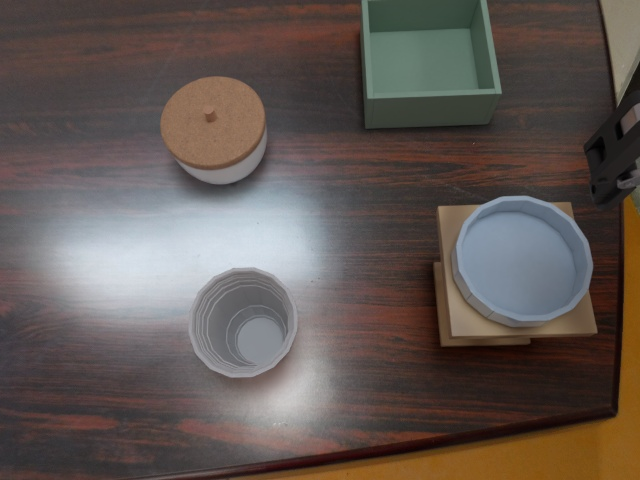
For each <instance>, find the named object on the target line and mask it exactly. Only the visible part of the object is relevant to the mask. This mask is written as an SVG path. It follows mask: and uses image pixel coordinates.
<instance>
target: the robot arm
mask: <svg viewBox="0 0 640 480" xmlns="http://www.w3.org/2000/svg"><path fill="white" fill-rule="evenodd" d="M582 147H583V148H582V149H583V153H584V155H585V158H586V162H587V166H588V170H589V179H590V181H589V182H588V187H589V191H590V197H591V201H592V205H595V206H596V209H597V210H598V211H599V212H611V211H613V210H614V209H615V208H617V206H619V204H620V203H622V202H623V201H624V200H625V199H626V198H627V197H629V196H630V194H632V193H633V192H634V191H635V190H636V189H638V188H637V186H640V167H638V165H637V160H638V159H639V158H640V89H636V90H634V91H632V92H631V93H630V94H628V95H627V96H626V97H625V99H623V101H622V102H620V104H619V106H618V107H616V109H615V110H614V111H613V112H612V113H611V114H610V115H609V116H608V118H607V119H606V120H605V121H604V122H603V123H602V125H600V126H599V128H598V129H596V131H595V132H594V133H593V134H592V136H590V138H589V139H588V140H587V141H586V142H585V143H584V145H583V146H582Z"/></svg>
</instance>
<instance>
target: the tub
mask: <svg viewBox="0 0 640 480" xmlns="http://www.w3.org/2000/svg"><path fill="white" fill-rule="evenodd" d="M488 8H489V6H488V2H487V0H360V21H359V22H360V23H359V38H360V39H359V40H360V57H361V76H362V77H361V78H362V94H363V112H364V113H363V114H364V115H363V116H364V128H365V130H368V129H369V130H371V129H373V130H374V129H393V128H394V129H397V128H400V129H401V128H425V127H448V126H449V127H452V126H453V127H454V126H455V127H456V126H479V125H480V126H481V125H489V123H490V122H491V120H492V117H493V114H494V112H495V110H496V107H497V105H498V103H499V101H500V99H501V97H502V94H503V91H502V85H501V80H500V73H499V66H498V62H497V54H496V50H495V49H496V48H495V43H494V38H493V33H492V25H491V21H490V20H491V19H490V13H489V9H488Z"/></svg>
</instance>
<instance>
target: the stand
mask: <svg viewBox="0 0 640 480" xmlns="http://www.w3.org/2000/svg"><path fill="white" fill-rule="evenodd" d="M550 203H551V205H552V204H553V205H555V206H556V207H557V208H559V209H560V210H561V211H563V212H564V213H565V214H567V215H568V216H569V217H571V218H572V219H573V220H574V221H575V216H574V211H573V207H572V202H571V201H558V202H550ZM480 205H481V204H465V205H464V204H461V205H459V204H458V205H437V208H436V211H435V218H436V228H437V237H438V239H437V240H438V246H439V247H438V248H439V257H440V261H434V262H433V264H432V271H433V272H432V273H433V282H434V292H435V302H436V312H437V314H436V315H437V323H438V332H439V333H438V335H439V343H440V347H441V348H444V347H446V348H447V347H484V346H485V347H486V346H487V347H488V346H528V345H530V344H531V343H532V342H531V339H532V338H571V337H572V338H574V337H575V338H576V337H592V336H594V335H596V334H598V327H597V324H596V318H595V314H594V308H593V304H592V299H591V294H590V289H588V291H587V293H586V294H585V295H584V296H583V297H582V299H581V300H580V301H579V302H578V304H577V305H576V306H575V307H574V308H573V309H572V310H571V311H569V312H567V313H566V314H564V315H562V316H561V317H559V318H556V319H554V320H552V321H550V322H548V323H546V324H543V325H541V326H538V327H510V326H507V325H505V324H502V323H499V322H496V321H493V320H491V319H488V318H487V317H485V316H483V315H482V314H481V313H480V312H479V311H478V310H476V309H475V308H474V307H473V306H472V305H470V304H469V303H468V302H467V301H466V300H465V298H464V296H463V294H462V293H461V291H460V289H459V287H458V285H457V284H456V282H455V280H454V277H453V270H452V261H451V252H452V249H453V246H454V243H455V240H456V237H457V234H458V232H459V230H460V228H461V226H462V224H463V223H464V221H465V220H466V219H467V218H468V217H469V216H470V215H471V214H472V213H473V212H474V211H475V210H476V209H477V208H478V207H479V206H480Z"/></svg>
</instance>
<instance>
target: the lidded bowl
mask: <svg viewBox="0 0 640 480" xmlns="http://www.w3.org/2000/svg"><path fill="white" fill-rule="evenodd" d="M266 117H267V115H266V110H265V107H264V104H263V101H262V99H261V97H260V96H259V95H258V93H257V92H256V91H255V90H254V88H252V87H251V86H249V85H248V84H247V83H245V82H243V81H241V80H239V79H236V78H233V77H229V76H228V77H227V76H219V75H218V76H217V75H216V76H215V75H214V76H206V77H201V78H198V79H196V80H193V81H191V82H188V83H187V84H185V85H184V86H182V87H181V88H179V89H178V90H177V91H176V92H175V93H173V94H172V96H171V97H170V99H168V101H167V102H166V103H165V106H164V107H163V110H162V112H161V115H160V121H159V130H160V131H159V132H160V135H161V139H162V142H163V144H164V146H165V147H166V149H167V151H168V152H169V153H170V154H171V156H173V158H174V159H175V161H176V162H177V164H178V165H180V167H181V168H182V169H183V170H184V171H185V172H186V173H188V174H189V175H191V176H192V177H193V178H195V179H197V180H199V181H201V182H204V183H207V184H212V185H229V184H233V183H237V182H239V181H240V180H243V179H244V178H246V177H248V176H249V175H250V174H252V173H253V172H254V171H255V170H256V168H257V167H258V166H259V164H260V163H261V161H262V159H263V157H264V155H265V153H266V148H267V142H268V125H267V120H266V119H267V118H266Z"/></svg>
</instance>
